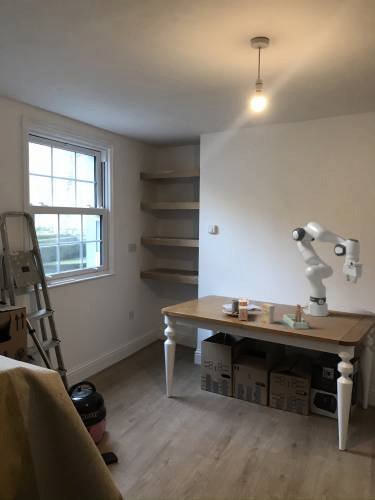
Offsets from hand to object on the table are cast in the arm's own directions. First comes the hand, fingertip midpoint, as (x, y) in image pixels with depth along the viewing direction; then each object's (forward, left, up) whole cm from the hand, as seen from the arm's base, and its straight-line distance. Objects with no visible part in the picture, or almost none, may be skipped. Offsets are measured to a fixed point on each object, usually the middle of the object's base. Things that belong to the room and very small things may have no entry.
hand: (351, 281), depth 267 cm
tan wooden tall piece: (+2, -38, -30) cm, 48 cm away
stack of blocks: (-25, -71, -31) cm, 82 cm away
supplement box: (-10, -56, -31) cm, 65 cm away
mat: (-4, -38, -31) cm, 49 cm away
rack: (-4, -38, -31) cm, 49 cm away
